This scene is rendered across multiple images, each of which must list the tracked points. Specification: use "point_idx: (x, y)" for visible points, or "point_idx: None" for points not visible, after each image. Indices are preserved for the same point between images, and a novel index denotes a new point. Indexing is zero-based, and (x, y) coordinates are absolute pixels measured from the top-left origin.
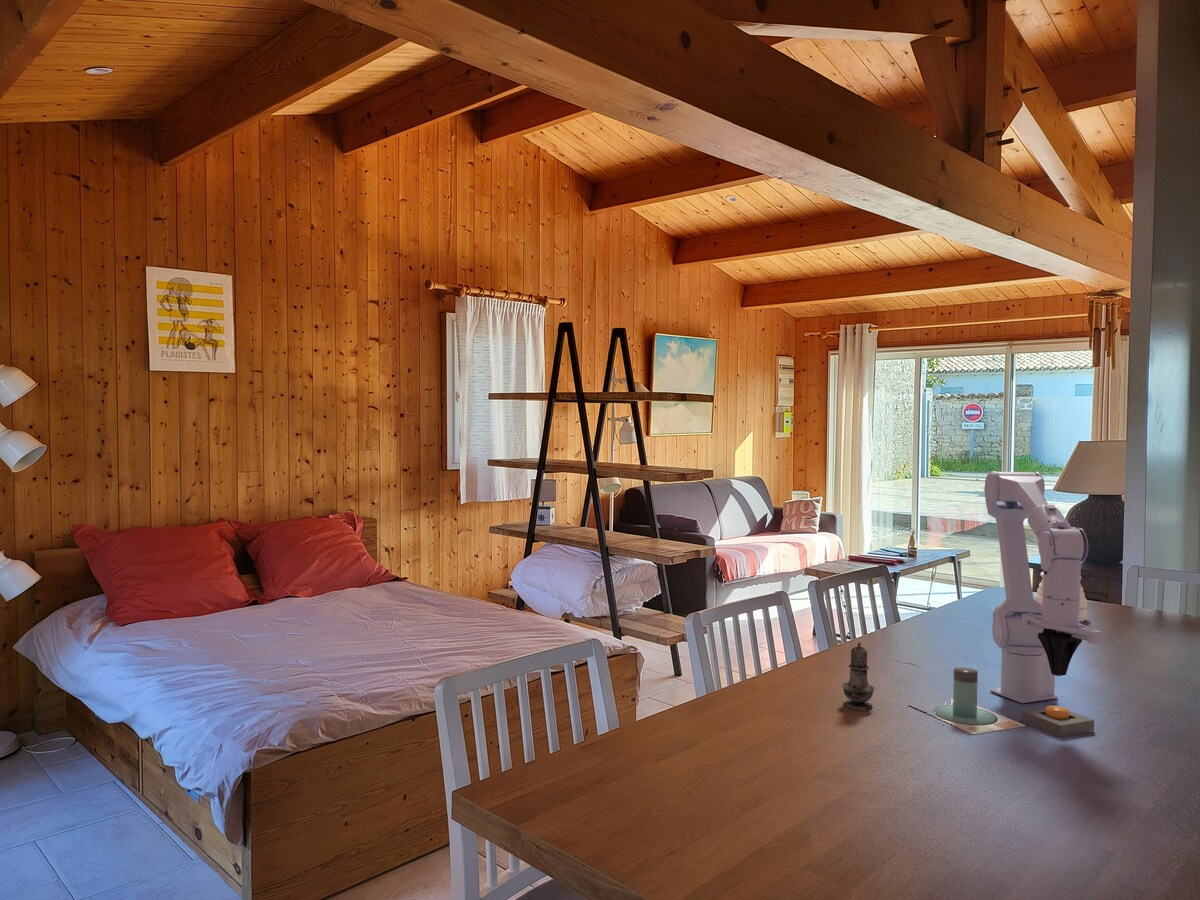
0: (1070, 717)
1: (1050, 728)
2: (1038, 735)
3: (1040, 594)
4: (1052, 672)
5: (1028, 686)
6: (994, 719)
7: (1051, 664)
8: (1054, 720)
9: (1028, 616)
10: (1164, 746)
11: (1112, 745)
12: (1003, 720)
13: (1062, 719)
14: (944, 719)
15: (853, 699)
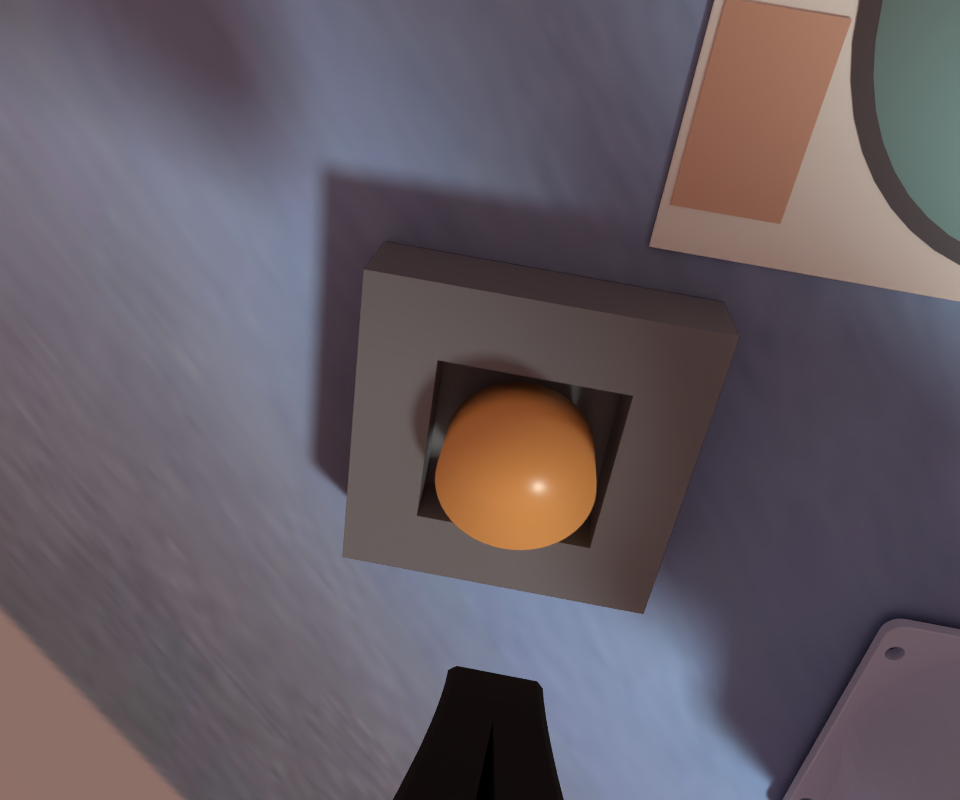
0: None
1: (460, 268)
2: (484, 137)
3: None
4: (515, 692)
5: (918, 760)
6: (890, 144)
7: (514, 774)
8: (457, 338)
9: None
10: (76, 579)
11: (161, 387)
12: (826, 197)
13: (454, 419)
14: None
15: None
